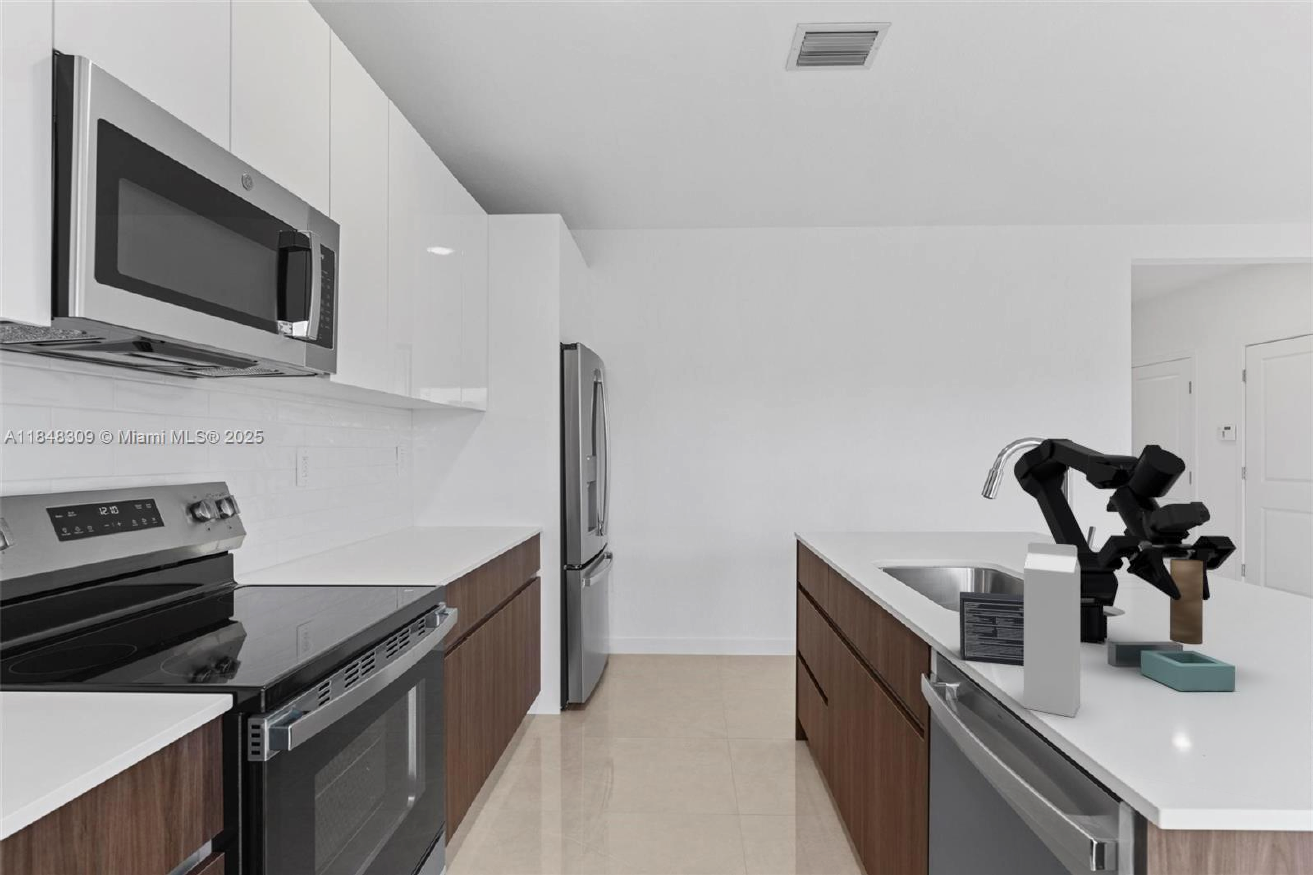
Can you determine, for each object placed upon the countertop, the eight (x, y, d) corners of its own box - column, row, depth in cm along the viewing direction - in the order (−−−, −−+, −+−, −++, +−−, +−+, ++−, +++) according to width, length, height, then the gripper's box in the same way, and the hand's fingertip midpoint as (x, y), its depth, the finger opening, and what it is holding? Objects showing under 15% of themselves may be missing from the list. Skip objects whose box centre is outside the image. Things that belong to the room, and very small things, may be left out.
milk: (1032, 696, 106) (1031, 539, 106) (1081, 705, 102) (1080, 543, 103) (1023, 708, 101) (1022, 543, 101) (1074, 718, 97) (1073, 547, 98)
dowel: (1172, 642, 112) (1172, 561, 112) (1167, 636, 115) (1168, 557, 115) (1205, 645, 110) (1205, 563, 110) (1199, 639, 114) (1199, 559, 114)
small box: (1027, 656, 126) (1027, 593, 127) (1032, 667, 120) (1032, 601, 120) (959, 650, 130) (959, 589, 130) (961, 660, 124) (961, 596, 124)
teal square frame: (1141, 673, 117) (1141, 650, 117) (1193, 673, 117) (1193, 650, 117) (1179, 690, 108) (1179, 666, 108) (1235, 690, 109) (1235, 666, 109)
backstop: (1107, 663, 122) (1107, 641, 123) (1174, 663, 123) (1174, 641, 123) (1115, 666, 120) (1115, 644, 121) (1183, 666, 121) (1183, 644, 121)
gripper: (1108, 483, 116) (1157, 566, 105) (1226, 483, 117) (1288, 566, 106) (1078, 528, 124) (1121, 610, 113) (1189, 528, 125) (1242, 610, 114)
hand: (1193, 598), depth 111 cm, fingers closed on dowel, 4 cm apart
